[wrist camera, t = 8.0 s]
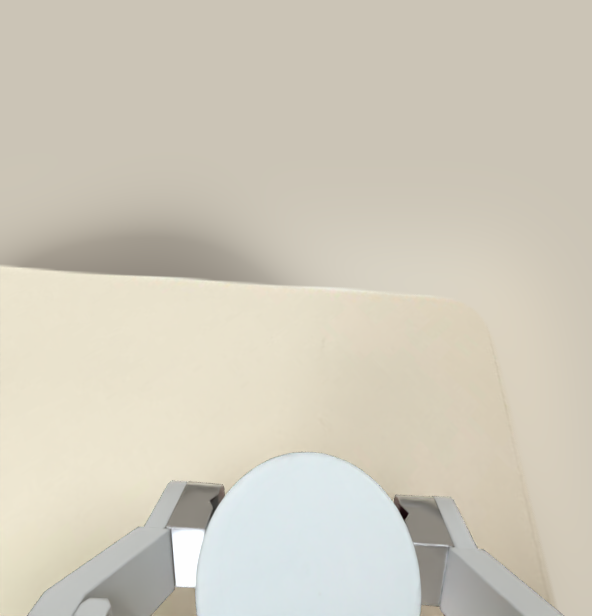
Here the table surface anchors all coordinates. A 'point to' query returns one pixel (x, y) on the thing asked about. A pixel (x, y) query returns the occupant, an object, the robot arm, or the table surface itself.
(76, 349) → the table surface
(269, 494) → the pill bottle
